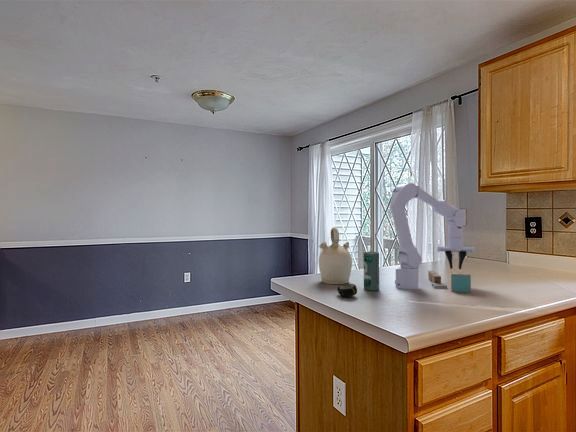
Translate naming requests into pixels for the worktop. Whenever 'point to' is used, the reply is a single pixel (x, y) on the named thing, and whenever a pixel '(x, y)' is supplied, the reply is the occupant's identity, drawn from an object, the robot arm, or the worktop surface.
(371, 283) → the can
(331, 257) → the jug
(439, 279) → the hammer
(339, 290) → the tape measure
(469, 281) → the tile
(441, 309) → the worktop surface
